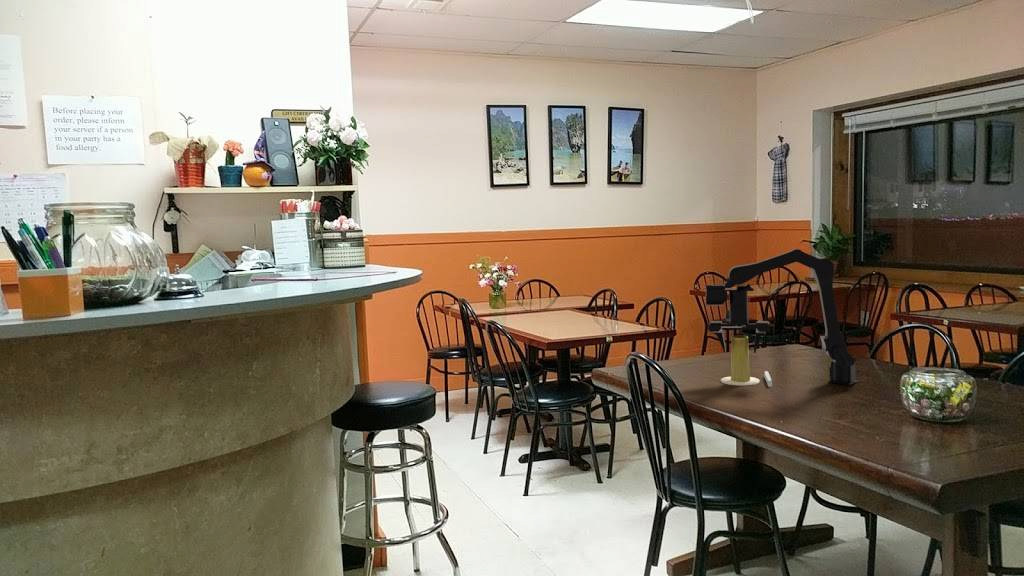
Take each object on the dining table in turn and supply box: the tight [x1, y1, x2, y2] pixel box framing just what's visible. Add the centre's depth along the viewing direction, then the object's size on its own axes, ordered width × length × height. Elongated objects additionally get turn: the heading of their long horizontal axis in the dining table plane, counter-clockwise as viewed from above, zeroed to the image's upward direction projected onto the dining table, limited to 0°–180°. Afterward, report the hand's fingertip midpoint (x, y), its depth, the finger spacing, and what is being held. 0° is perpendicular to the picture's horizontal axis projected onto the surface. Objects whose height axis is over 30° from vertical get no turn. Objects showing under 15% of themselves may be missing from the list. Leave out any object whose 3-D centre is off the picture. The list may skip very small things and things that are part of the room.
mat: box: [720, 375, 760, 387], centre depth 226 cm, size 12×12×1 cm
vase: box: [730, 335, 751, 382], centre depth 225 cm, size 6×6×14 cm
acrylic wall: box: [764, 370, 773, 388], centre depth 223 cm, size 14×1×2 cm, turn 165°
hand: (739, 352), depth 225 cm, fingers open, 9 cm apart
